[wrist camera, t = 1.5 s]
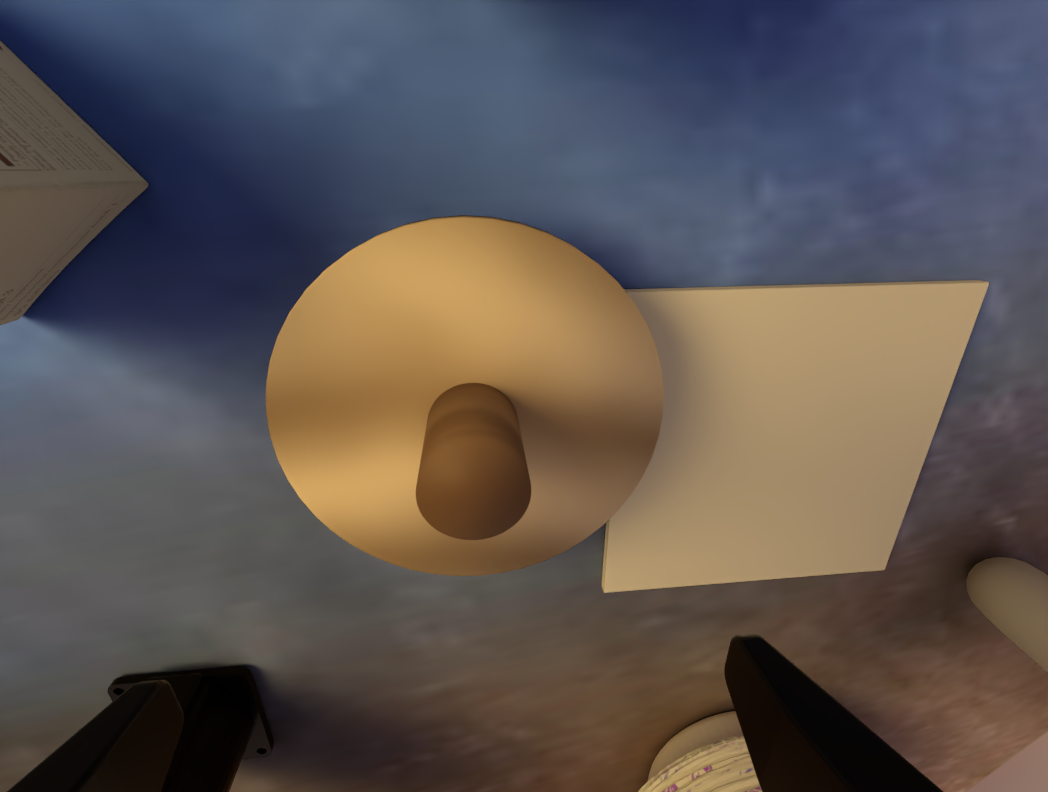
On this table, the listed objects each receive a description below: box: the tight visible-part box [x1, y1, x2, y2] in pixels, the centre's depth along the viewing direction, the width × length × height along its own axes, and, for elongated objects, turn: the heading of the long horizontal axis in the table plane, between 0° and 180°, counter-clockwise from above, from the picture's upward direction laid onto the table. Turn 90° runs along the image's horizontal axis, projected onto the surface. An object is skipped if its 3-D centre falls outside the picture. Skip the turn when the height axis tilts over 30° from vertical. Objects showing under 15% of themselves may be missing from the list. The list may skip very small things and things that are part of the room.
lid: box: [266, 215, 664, 576], centre depth 15 cm, size 13×13×5 cm
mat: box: [602, 280, 989, 593], centre depth 23 cm, size 15×15×1 cm
